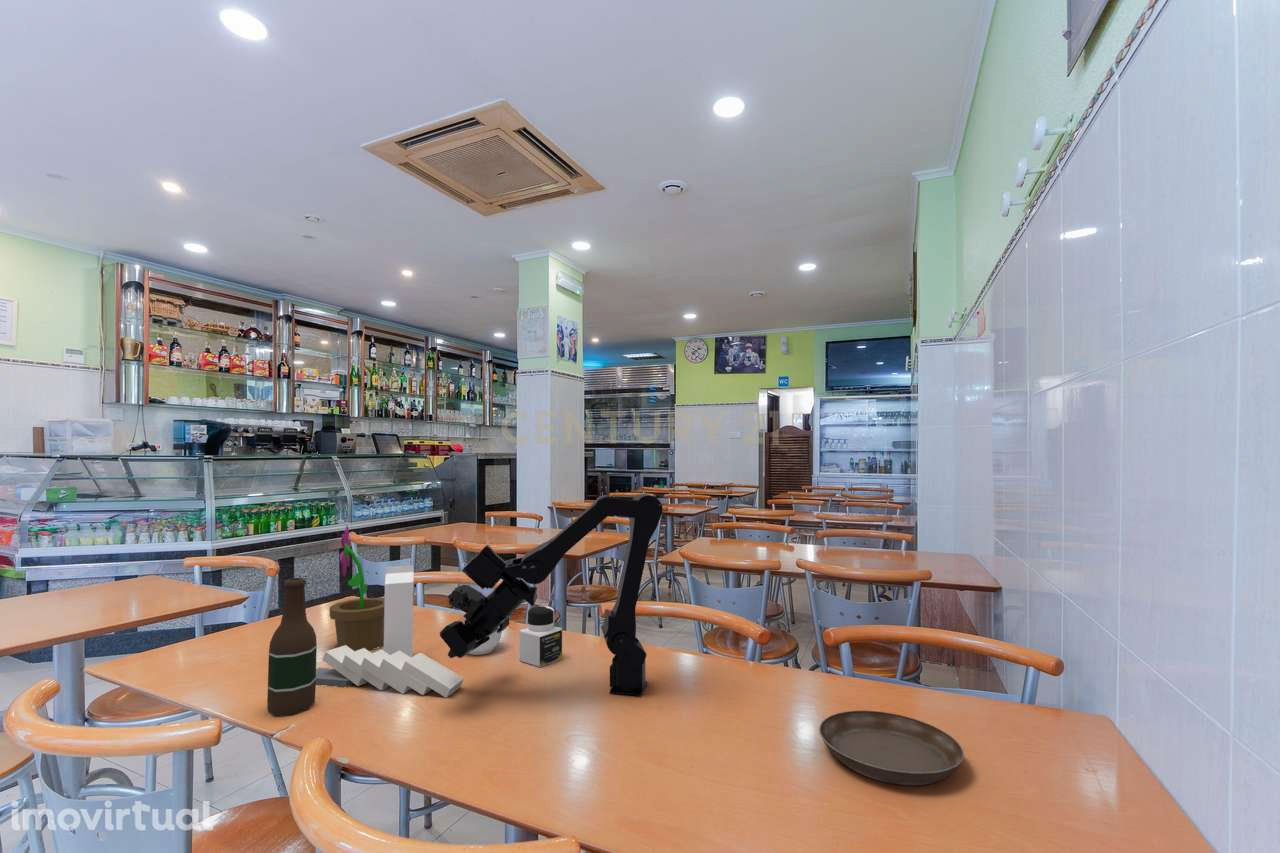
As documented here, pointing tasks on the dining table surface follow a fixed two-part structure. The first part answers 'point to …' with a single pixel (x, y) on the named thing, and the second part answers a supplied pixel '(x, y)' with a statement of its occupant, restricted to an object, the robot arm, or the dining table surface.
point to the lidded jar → (486, 646)
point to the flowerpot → (357, 610)
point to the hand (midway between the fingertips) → (450, 656)
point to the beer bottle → (292, 656)
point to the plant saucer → (891, 747)
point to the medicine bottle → (540, 638)
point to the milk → (399, 610)
